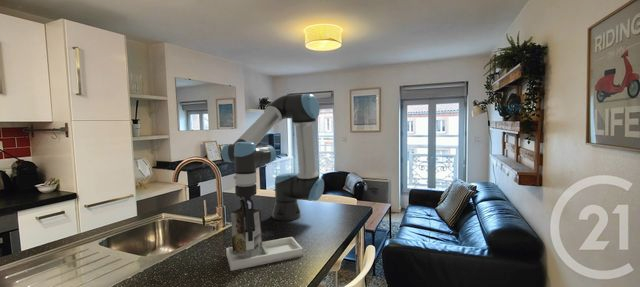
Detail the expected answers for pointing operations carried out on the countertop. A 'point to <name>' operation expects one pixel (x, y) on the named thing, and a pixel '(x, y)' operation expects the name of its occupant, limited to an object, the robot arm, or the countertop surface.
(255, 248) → the coffee box
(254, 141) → the robot arm
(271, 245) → the cell crate
